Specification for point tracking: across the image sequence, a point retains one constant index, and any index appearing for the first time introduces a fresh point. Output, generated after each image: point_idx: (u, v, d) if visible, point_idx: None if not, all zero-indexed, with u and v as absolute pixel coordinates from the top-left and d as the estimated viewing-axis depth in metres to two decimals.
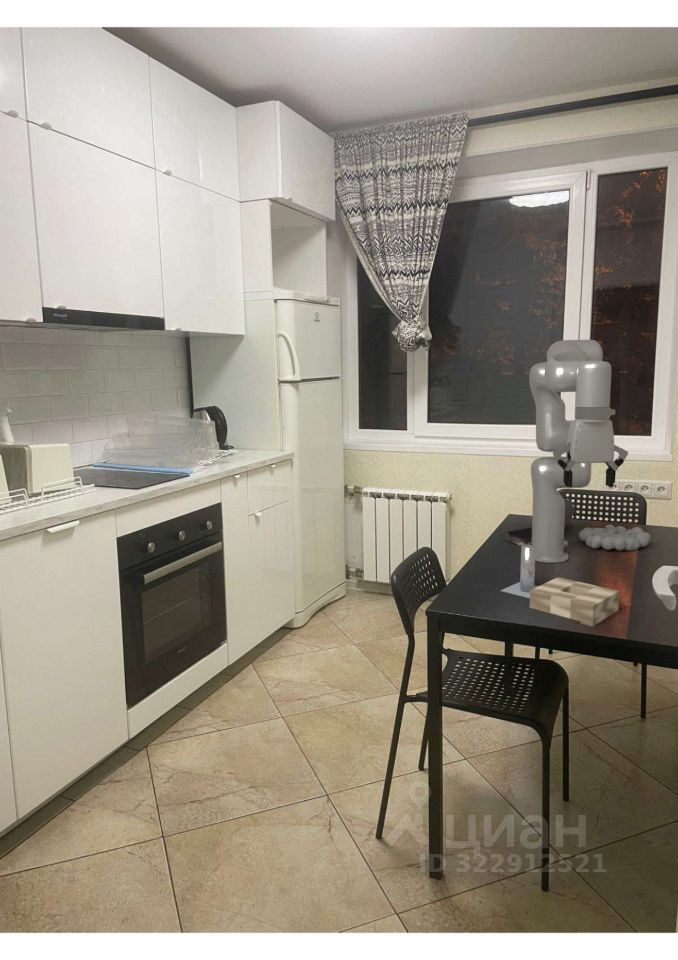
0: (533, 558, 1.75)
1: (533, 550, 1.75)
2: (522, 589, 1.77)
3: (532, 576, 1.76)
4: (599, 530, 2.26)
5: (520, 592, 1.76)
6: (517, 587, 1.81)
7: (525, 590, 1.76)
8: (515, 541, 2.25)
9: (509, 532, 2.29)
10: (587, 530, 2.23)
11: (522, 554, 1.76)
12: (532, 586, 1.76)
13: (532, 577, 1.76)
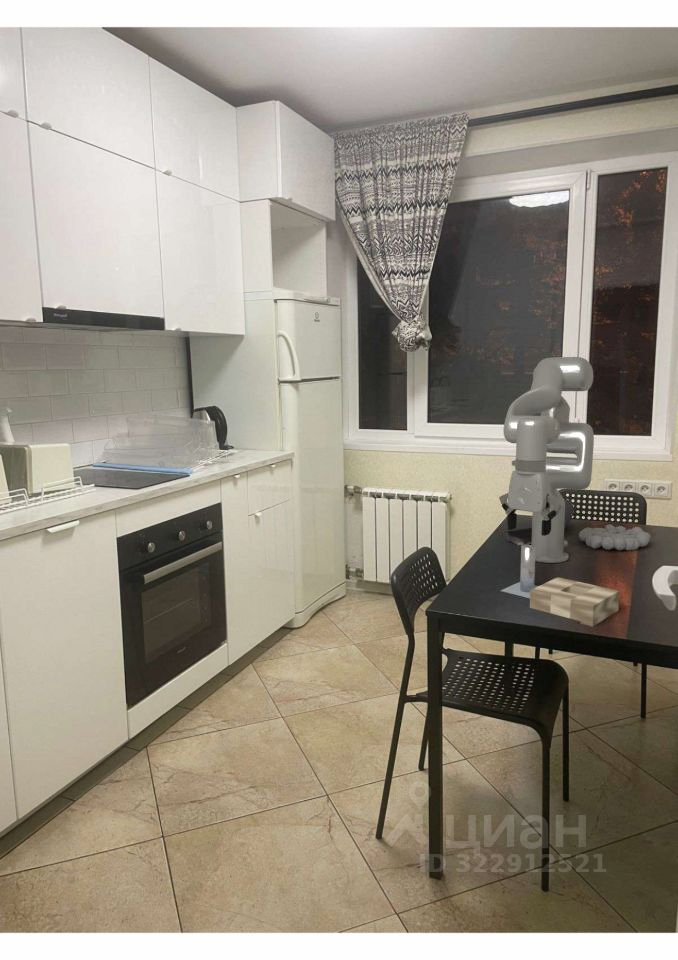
0: (533, 558, 1.75)
1: (533, 550, 1.75)
2: (522, 589, 1.77)
3: (532, 576, 1.76)
4: (599, 530, 2.26)
5: (520, 592, 1.76)
6: (517, 587, 1.81)
7: (525, 590, 1.76)
8: (514, 541, 2.25)
9: (509, 532, 2.29)
10: (587, 530, 2.23)
11: (522, 554, 1.76)
12: (532, 586, 1.76)
13: (532, 577, 1.76)
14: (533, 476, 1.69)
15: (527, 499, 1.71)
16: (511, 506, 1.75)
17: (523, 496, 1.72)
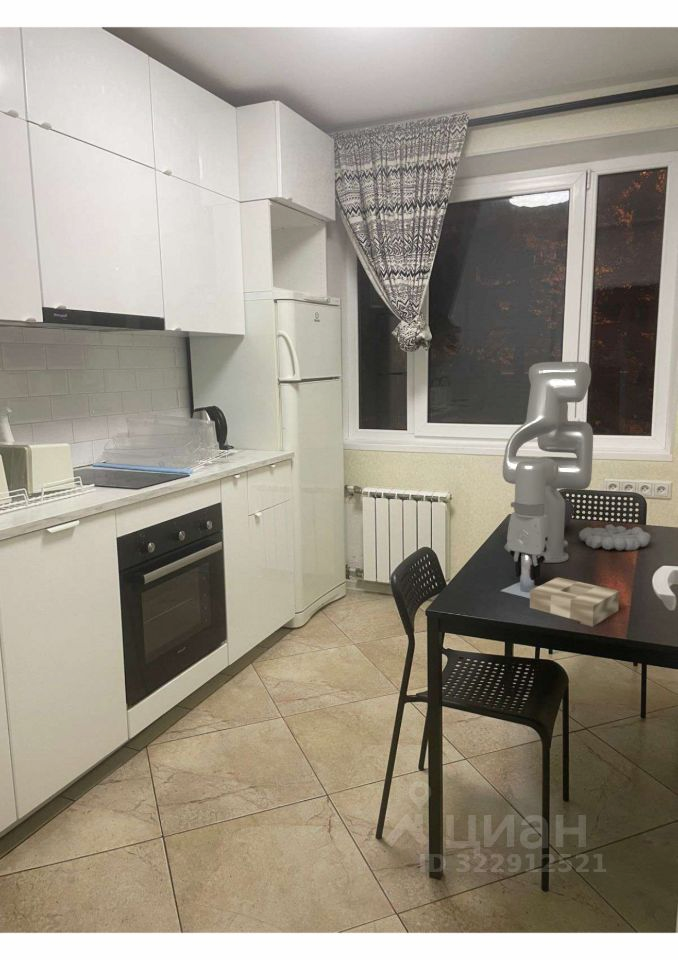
0: None
1: None
2: (522, 589, 1.77)
3: None
4: (599, 530, 2.26)
5: (520, 592, 1.76)
6: (517, 587, 1.81)
7: (525, 590, 1.76)
8: None
9: None
10: (587, 530, 2.23)
11: (522, 554, 1.76)
12: (532, 586, 1.76)
13: None
14: (531, 520, 1.71)
15: (526, 542, 1.73)
16: (510, 547, 1.77)
17: (522, 538, 1.74)
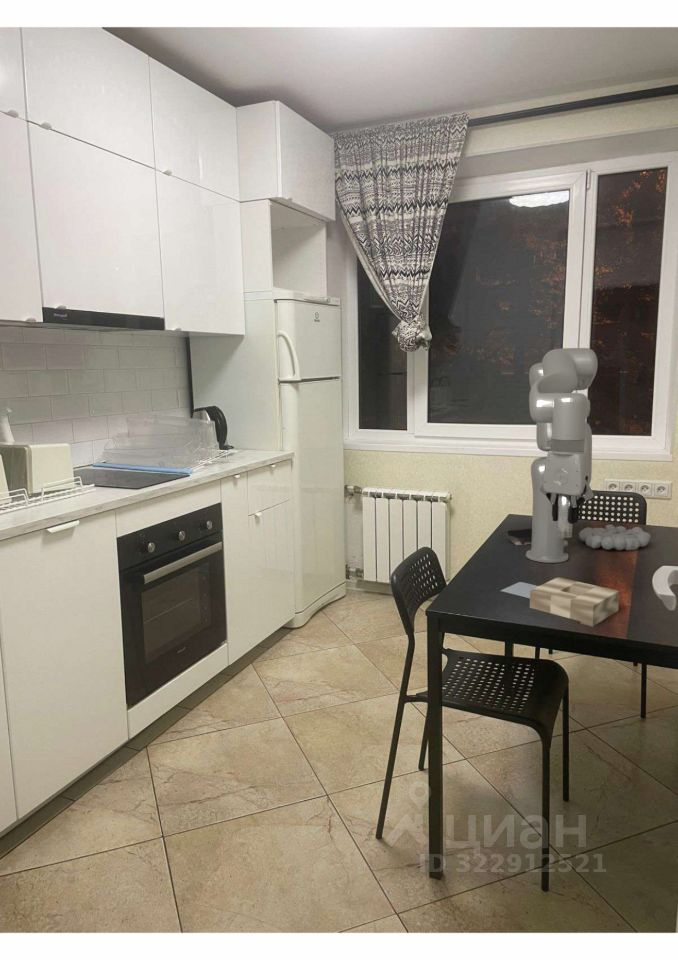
0: None
1: None
2: (559, 534, 1.64)
3: None
4: (599, 530, 2.26)
5: (520, 592, 1.76)
6: (517, 587, 1.81)
7: (562, 535, 1.63)
8: (512, 540, 2.26)
9: (509, 531, 2.30)
10: (587, 530, 2.23)
11: (559, 496, 1.63)
12: (571, 530, 1.63)
13: None
14: (570, 457, 1.58)
15: (564, 481, 1.60)
16: (547, 489, 1.64)
17: (560, 478, 1.61)
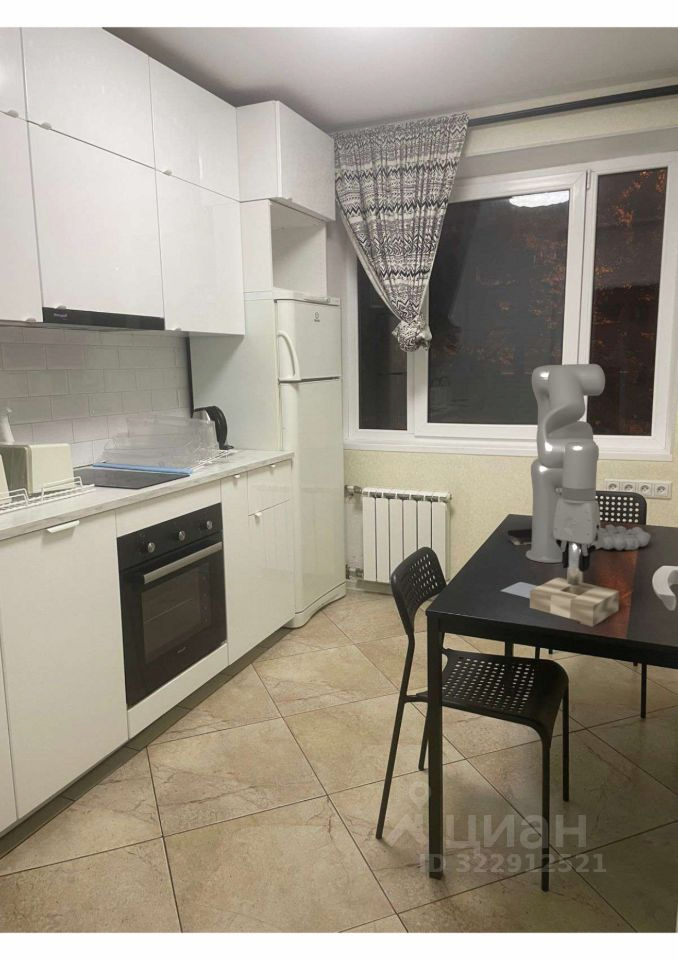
0: None
1: None
2: (570, 582, 1.62)
3: None
4: None
5: (520, 592, 1.76)
6: (517, 587, 1.81)
7: (573, 583, 1.62)
8: (512, 540, 2.26)
9: (509, 531, 2.30)
10: None
11: (570, 543, 1.61)
12: (581, 578, 1.62)
13: None
14: (582, 505, 1.57)
15: (575, 530, 1.59)
16: (557, 536, 1.62)
17: (571, 526, 1.59)
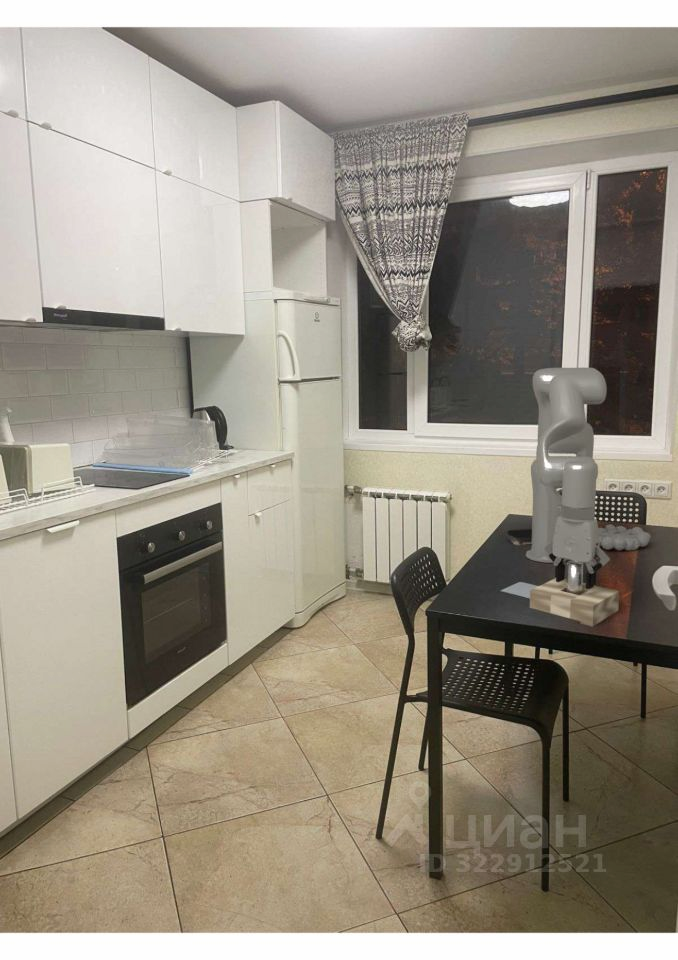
0: (581, 576, 1.62)
1: (581, 567, 1.61)
2: None
3: None
4: (599, 530, 2.26)
5: (520, 592, 1.76)
6: (517, 587, 1.81)
7: None
8: (511, 540, 2.26)
9: (509, 531, 2.30)
10: None
11: (569, 571, 1.63)
12: None
13: None
14: (581, 524, 1.58)
15: (574, 548, 1.60)
16: (556, 554, 1.63)
17: (570, 545, 1.60)
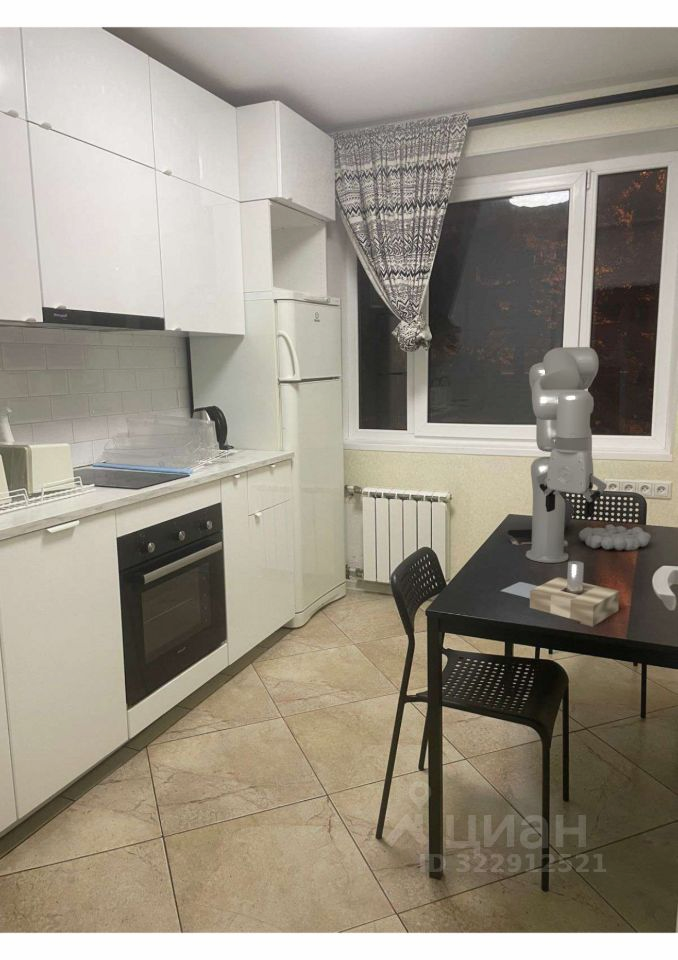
0: (581, 576, 1.62)
1: (581, 567, 1.61)
2: None
3: None
4: (599, 530, 2.27)
5: (520, 592, 1.76)
6: (517, 587, 1.81)
7: None
8: (511, 540, 2.27)
9: (510, 531, 2.31)
10: (587, 530, 2.23)
11: (569, 571, 1.63)
12: None
13: None
14: (575, 455, 1.58)
15: (569, 479, 1.60)
16: (550, 487, 1.64)
17: (564, 476, 1.61)
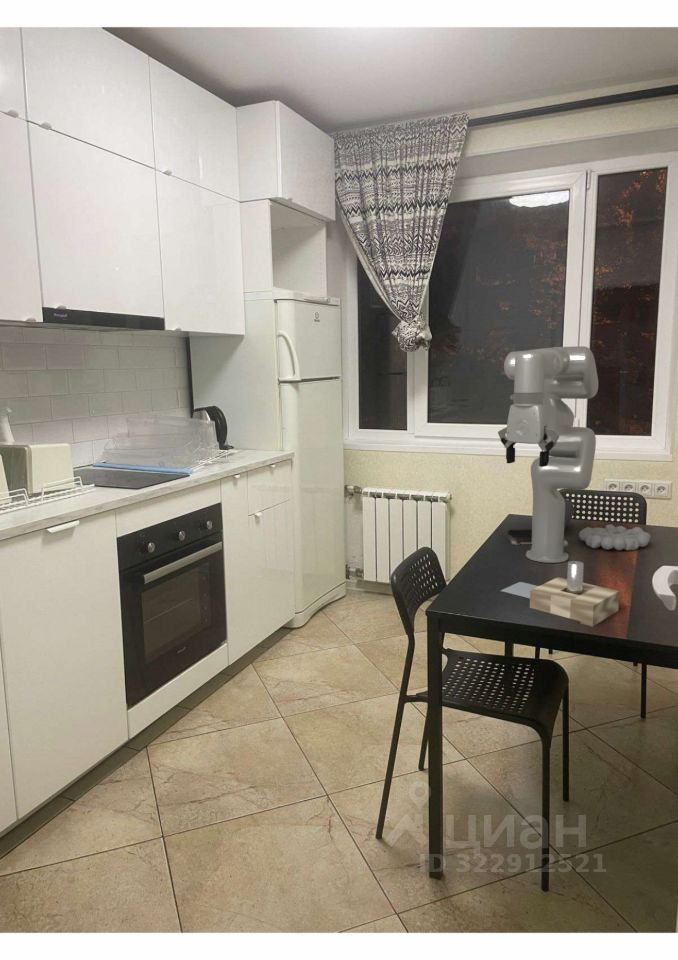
0: (581, 576, 1.62)
1: (581, 567, 1.61)
2: None
3: None
4: (599, 530, 2.27)
5: (520, 592, 1.76)
6: (517, 587, 1.81)
7: None
8: (510, 539, 2.27)
9: (510, 530, 2.31)
10: (587, 530, 2.23)
11: (569, 571, 1.63)
12: None
13: None
14: (531, 408, 1.73)
15: (525, 431, 1.75)
16: (510, 439, 1.78)
17: (521, 428, 1.75)
